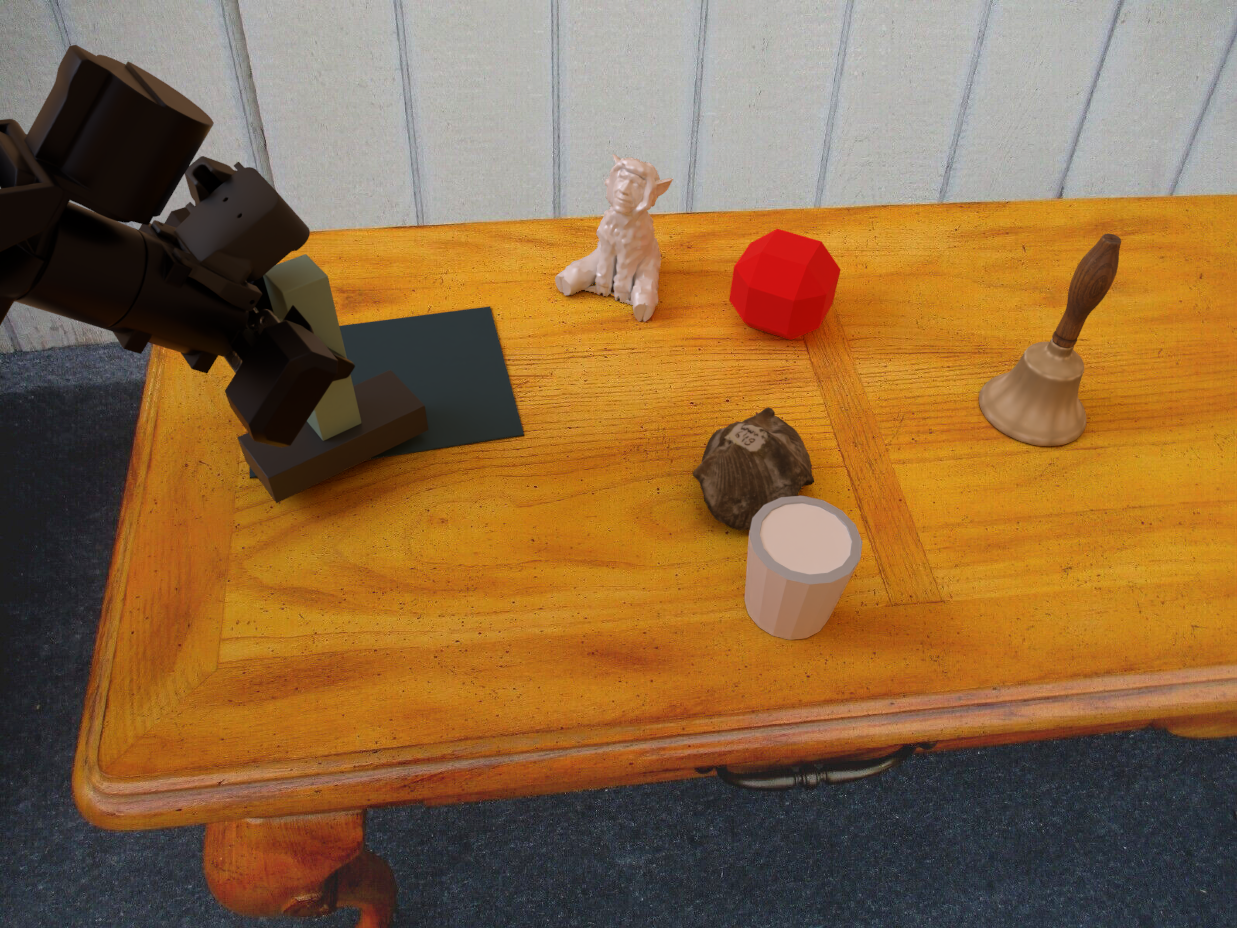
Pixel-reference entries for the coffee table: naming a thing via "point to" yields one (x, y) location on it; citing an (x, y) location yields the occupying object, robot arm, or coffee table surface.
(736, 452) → the fossilized seashell
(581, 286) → the white creature statuette
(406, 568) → the coffee table surface
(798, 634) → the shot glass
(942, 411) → the coffee table surface
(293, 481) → the wiper
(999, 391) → the hand bell
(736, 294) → the ball
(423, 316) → the cloth mat
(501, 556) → the coffee table surface
